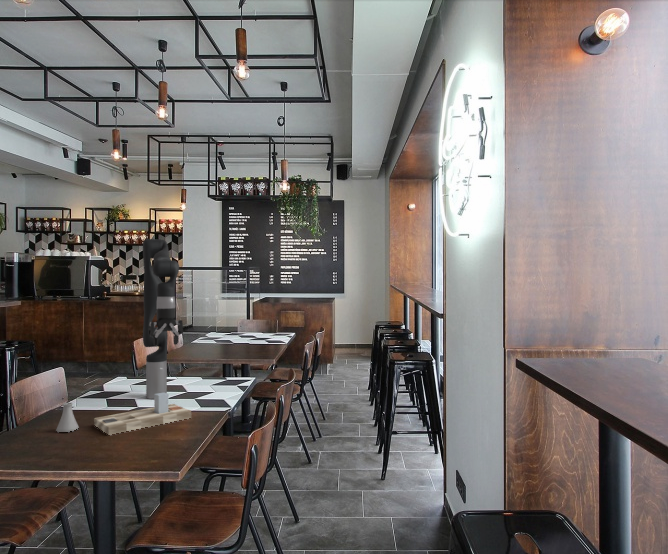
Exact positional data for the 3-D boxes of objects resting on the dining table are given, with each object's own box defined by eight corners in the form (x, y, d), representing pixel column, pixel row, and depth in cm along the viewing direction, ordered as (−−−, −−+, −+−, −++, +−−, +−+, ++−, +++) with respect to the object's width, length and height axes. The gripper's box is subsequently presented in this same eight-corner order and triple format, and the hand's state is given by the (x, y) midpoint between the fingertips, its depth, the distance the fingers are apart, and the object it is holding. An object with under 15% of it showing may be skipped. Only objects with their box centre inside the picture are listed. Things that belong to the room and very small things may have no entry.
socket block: (94, 426, 189) (94, 417, 189) (173, 410, 211) (173, 403, 211) (108, 435, 178) (108, 426, 178) (191, 418, 199) (191, 410, 199)
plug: (154, 418, 199) (154, 394, 199) (163, 416, 202) (163, 392, 202) (158, 420, 196) (158, 395, 196) (168, 418, 199) (168, 394, 199)
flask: (82, 428, 186) (83, 402, 186) (67, 434, 179) (67, 406, 179) (68, 426, 188) (68, 400, 188) (51, 432, 182) (51, 405, 182)
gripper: (177, 306, 218) (177, 343, 217) (145, 307, 208) (145, 346, 208) (185, 306, 212) (185, 344, 212) (153, 308, 202) (153, 347, 202)
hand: (165, 345), depth 210 cm, fingers open, 8 cm apart
